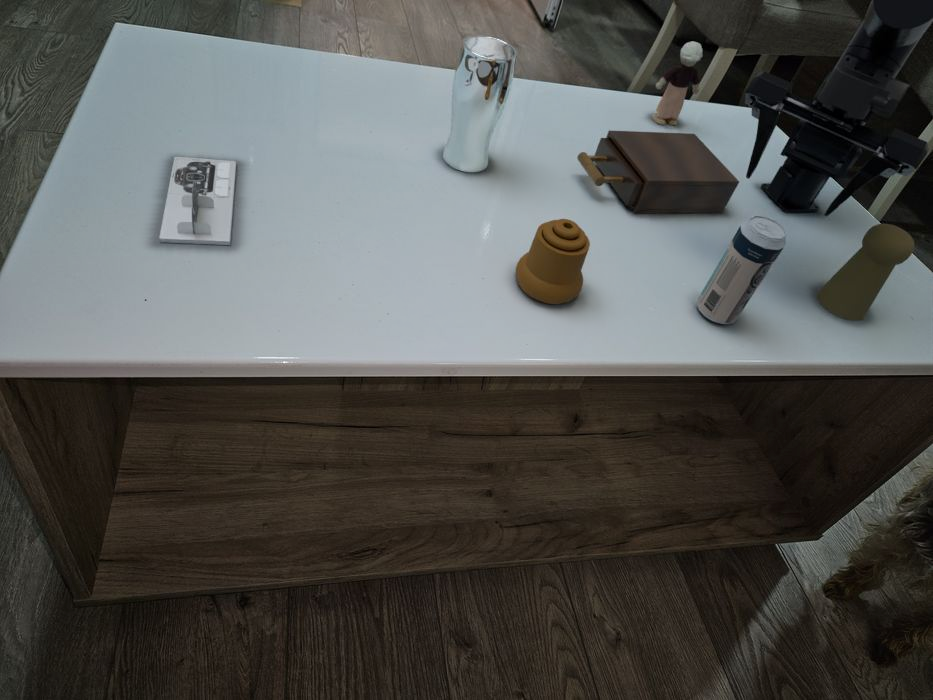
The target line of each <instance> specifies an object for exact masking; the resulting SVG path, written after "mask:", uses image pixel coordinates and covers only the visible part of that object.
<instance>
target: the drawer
mask: <svg viewBox="0 0 933 700" xmlns="http://www.w3.org/2000/svg"><path fill="white" fill-rule="evenodd" d="M576 159H577V161H578V163H579V164H580V166H581V167H582V168H583V169H584V171H585V172H586V174H587V175H588V177H589V178H590V179H591V181H592V183H593V184H594V185H595V186H596V187H601V186H603V185H604V184H610V185H611V186H612V187H613V189H614V190H615V192H616V193H617V195H618V196H619V198H620V199H621V200H622V201H623V203H624V204H625V206H626V207H629V206H634V205H635V203H636V201H637V198H638V197H639V195H640V193H641V190H642V188H643V186H644V184H645V181H644V180H643V179H642V178H641V176H640V175H639V174H638V172H637V171H636V170H635V169H634V167H633V166H632V165H631V164H630V162H629V161H628V160H627V158H626V157H625V156H624V155H623V153H622V152H621V151H620V150H619V148H618V147H617V146H616V144H615V146H614V145H613V143H612V142H611V141H610V139H609V138H606V137H600V139H599V142H598V145H597V147H596V150H595V153H594V154H593V155H589V154H588V153H587V152H585V151H581V152H579V154H578V155H577V158H576ZM601 172H602V173H601Z"/></svg>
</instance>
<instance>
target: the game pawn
mask: <svg viewBox="0 0 933 700" xmlns="http://www.w3.org/2000/svg"><path fill="white" fill-rule="evenodd" d="M914 250H915V240H914V239H913V237H912V235H911V234H910V233H908V232H907V231H906V230H905V229H903V228H901V227H899V226H897V225H894V224H890V223H883V222H882V223H878V224H875V225H873V226H872V227H870V228H869V229H868V230H867V231H866V232H865V234H864V235H863V238H862V240H861V247H860V248H859V249H858V250H857V251H856V252H855V253H854V254H853V255H852V256H851V258H849V259H848V260H847V261H846V262H845V263H844V264H843V266H841V268H839V269H838V270H837V271H836V272H835V273H834V274H833V275H832V276H831V278H829V280H827V281H826V282H825V283H824V284H823V285H822V287H820V289H818V291H816V292H817V297H816V298H817V299H818V301H819V303H820V304H821V306H822V307H823V308H825V309H826V310H827V311H828V312H829V313H831V314H833V315H834V316H836V317H838V318H840V319H843V320H846V321H850V322H859V321H862V320H863V319H864V318H865V316H866V315H867V313H868V312H869V310H870V308H871V307H872V305H873V303H874V302H875V300H876V298H877V297H878V295H879V293H880V292H881V290H882V289H883V287H884V285H885V284H886V283H887V280H888V279H889V277H890V275H891V274H892V273H893V270H894V269H895V267H896V266H897V265H901V264H903V263H905V262H906V261H907V260H908V259H909V258H910V257H911V256H912V254H913V252H914Z"/></svg>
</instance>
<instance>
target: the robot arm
mask: <svg viewBox="0 0 933 700" xmlns="http://www.w3.org/2000/svg"><path fill="white" fill-rule="evenodd" d="M932 23H933V0H871V1H870V4H869V6H868V8H867V11H866V13H865V15H864V19H863V20H862V22H861V24H860V25H859V27H858V29H857V30H856V32H855V34H853V37H852V38H851V40H850V42H849V43H848V45H847V47H846V48H845V50H844V51H843V53H842V54H841V56H840V58H839V60H838V61H837V63H836V64H835V66H834V68H833V69H832V70H831V71H830V72H829V73H828V74H827V75H826V77H825V78H824V80H823V81H822V83H821V85H820V86H819V87H818V90H817V92H816V93H815V94H814V96H813V101H812V102H811V101H809V100H806V99H804V98H803V97H799V96H797V95H795V94H792V93H793V88H794V83H793V82H790V81H787V80H785V79H784V78H781V77H779V76H776V75H775V74H772V73H769V72H767V71H765V70H763V71H762V72H759V73H757V74H756V75H754V77H753V78H752V79H751V82H750V83H749V84H748V87H747V88H746V90H745V92H744V96H745V97H744V104H746V105H747V107H748V106H749V108H751V116H752V117H753V118H754V119H757V128H756V136H755V141H754V144H753V148H752V151H751V156H750V159H749V163H748V167H747V171H746V174H745V178H746V179H748V180H749V179H750V178H751V177H752V175H753V174H754V172H755V171H756V169H757V168H758V165H759V163H760V161H761V160H762V156H763V155H764V152H765V150H766V148H767V146H768V144H769V142H770V139H771V138H772V135H773V133H774V131H775V129H776V127H777V125H778V121H779V116H780V115H781V113H782V112H783V113H786V114H788V115H790V116H793V117H795V118H797V119H799V120H798V122H797V123H796V125H795V127H794V128H793V131H792V132H791V134H790V135H789V138H788V140H787V141H786V142H785V145H784V147H783V149H782V150H781V152H780V154H779V155H780V156H782V157H786V159H785V160H784V162H783V163H782V165H781V166H780V167H779V168H778V170H777V172H776V174H775V175H774V176H773V178H772V180H771V182H770V183H769V182H767V183H765V182H764V183H762V184H761V185H760V188H761V189H762V190H763V191H764V192H765V194H767V195H768V196H769V197H770V198H771V200H772V201H773V202H774V203H775V204H776V205H777V206H778V207H779V208H780V209H781V210H782V211H784V212H786V213H794V212H795V213H796V212H797V213H798V212H799V213H800V212H801V213H802V212H803V213H804V212H806V213H807V212H808V213H809V212H814V213H815V212H819V210H820V207H819V205H817V204H816V202H815V201H816V199H817V197H818V196H819V195H820V193H821V191H822V190H823V188H824V187H825V185H826V183H827V182H828V180H829V179H830V178H831V179H832V180H834V181H836V182H837V181H838V180H839V179H846V176H847V175H848V174H849V172H850V170H852V168H853V167H854V165H855V164H856V163H857V161H858V159H859V158H860V157H861V155H862V153H863V152H862V148H864V149H866V150H868V151H870V152H873V154H872V156H871V157H870V158H868V159H867V161H865V162H864V164H862V166H861V167H860V169H858V170H857V172H856V173H855V174H854V176H853V177H851V179H850V180H849V181H848V183H847V184H846V185H845V186H844V187H843V188H842V190H841V191H839V193H838V194H837V196H836V197H835V198H834V199H833V200H832V201H831V203H830V204H829V206H828V207H827V209H826V211H825V212H824V213H823V216H824V217H828V216H830V215H831V214H832V213H833V212H834V211H836V210H837V209H838V208H839V207H840V206H841V205H842V204H843V203H845V202H846V201H847V200H848V199H849V198H851V196H853V195H854V194H855V193H856V192H857V191H858V190H860V189H861V188H863V187H864V186H866V185H867V184H869V183H870V182H872V181H873V180H875V179H876V178H877V177H880V176H881V177H883V178H887V179H891V178H892V177H893V176H895V174H897V175H899V176H903V177H907V176H909V175H910V174H912V173H913V172H915V171H917V169H918V168H919V167H920V165H921V164H922V162H923V161H924V160H925V158H926V156H927V155H928V153H929V151H930V148H929V144H928V142H927V141H925V140H924V139H922V138H919V137H916V136H915V135H912V134H909V133H907V132H905V131H903V130H901V129H898V128H895V127H894V128H893V129H892V130H891V131H890V132H889V133H888V134H887V135H886V134H883V133H881V132H879V131H877V130H874V129H872V128H870V127H868V124H869V121H870V119H871V117H872V116H873V114H874V113H875V114H878V115H880V116H882V117H885V118H887V119H888V118H890V116H891V115H892V114H893V112H894V111H895V110H896V108H897V106H898V105H899V103H900V102H901V100H902V99H903V97H904V96H905V94H906V93H907V91H908V90H909V88H910V86H911V84H909V83H907V82H904V81H901V80H899V79H897V78H896V77H897V76H898V74H899V72H900V71H901V69H902V67H903V66H904V65H905V63H906V61H907V60H908V58H909V56H910V55H911V53H912V52H913V50H914V49H915V47H916V46H917V45H918V42H919V41H920V39H922V37H923V35H924V34H925V33H926V32H927V30H928V29H929V27H930V26H931V25H932Z"/></svg>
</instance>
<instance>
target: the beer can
mask: <svg viewBox="0 0 933 700" xmlns="http://www.w3.org/2000/svg"><path fill="white" fill-rule="evenodd" d="M787 236H788V235H787V232H786V228H785V227H784V226H783V225H781V224H780V223H779V222H778V221H777V220H774V219H772V218H770V217H768V216H764V215H753V216H752V217H750V218H748V220H745V221H744V222H742V223H741V224H740V226H739V227H738V229H737V231H736V233H735V234H734V236H733V237H732V240H731V241H730V243H729V245H728V246H727V248H726V250H725V251H724V253H723V255H722V256H721V258H720V260H719V261H718V264H717V265H716V266H715V269H714V270H713V272H712V274H711V276H710V277H709V279H708V281H707V282H706V284H705V286H704V287H703V288H702V291H701V293H700V294H699V296H698V298H697V300H696V307H697V309H698V311H699V312H700V313H701V314H702V315H703V317H705V318H706V319H707V320H709V321H711V322H713V323H717V324H719V325H721V324H722V325H730V324H731V325H732V324H734V323H735V322H736V321H737V320H738V319H739V317H740V315H741V313H742V312H743V311H744V310H745V307H747V304H748V303H749V302H750V300H751V298H752V297H753V295H754V294H755V292H756V291H757V289H758V288H759V286H760V285H761V283H762V282H763V279H764V278H765V277H766V276H767V274H768V272H769V271H770V270H771V268H772V267H773V265H774V263H775V262H776V260H777V259H778V257H779V256H780V254H781V252H782V251H783V249H784V248H785V246H786V244H787Z"/></svg>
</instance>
